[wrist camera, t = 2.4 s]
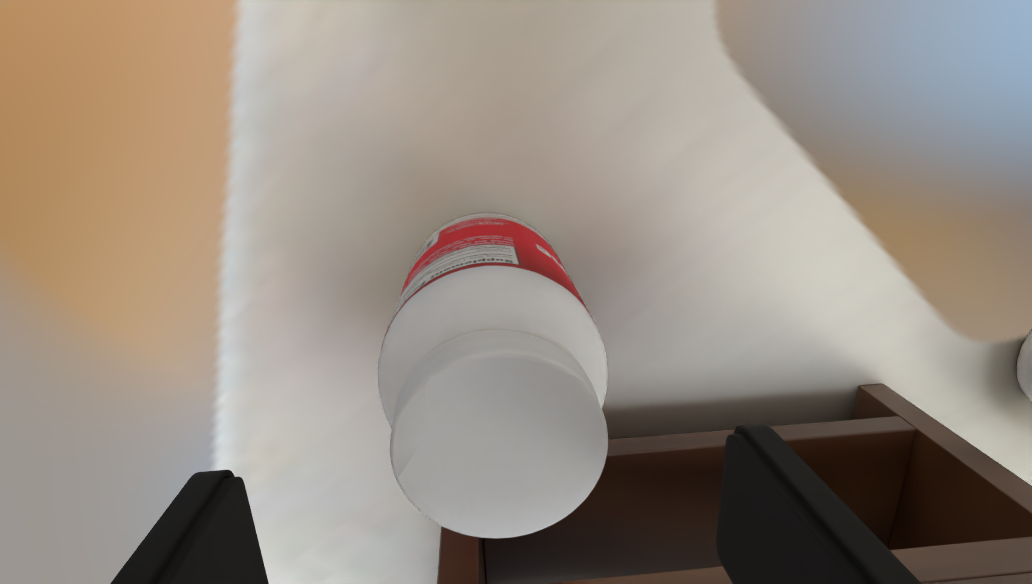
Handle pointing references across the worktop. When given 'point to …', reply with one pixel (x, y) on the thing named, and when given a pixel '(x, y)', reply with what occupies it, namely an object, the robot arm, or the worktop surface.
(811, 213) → the worktop surface
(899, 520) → the box
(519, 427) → the pill bottle
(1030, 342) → the flower vase
